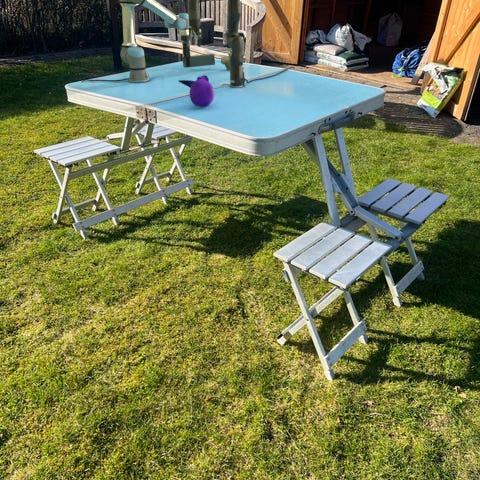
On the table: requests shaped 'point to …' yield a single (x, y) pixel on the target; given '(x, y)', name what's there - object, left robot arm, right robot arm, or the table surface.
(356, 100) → the table surface
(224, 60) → the teapot
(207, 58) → the bar
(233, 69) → the right robot arm
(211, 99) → the toy
